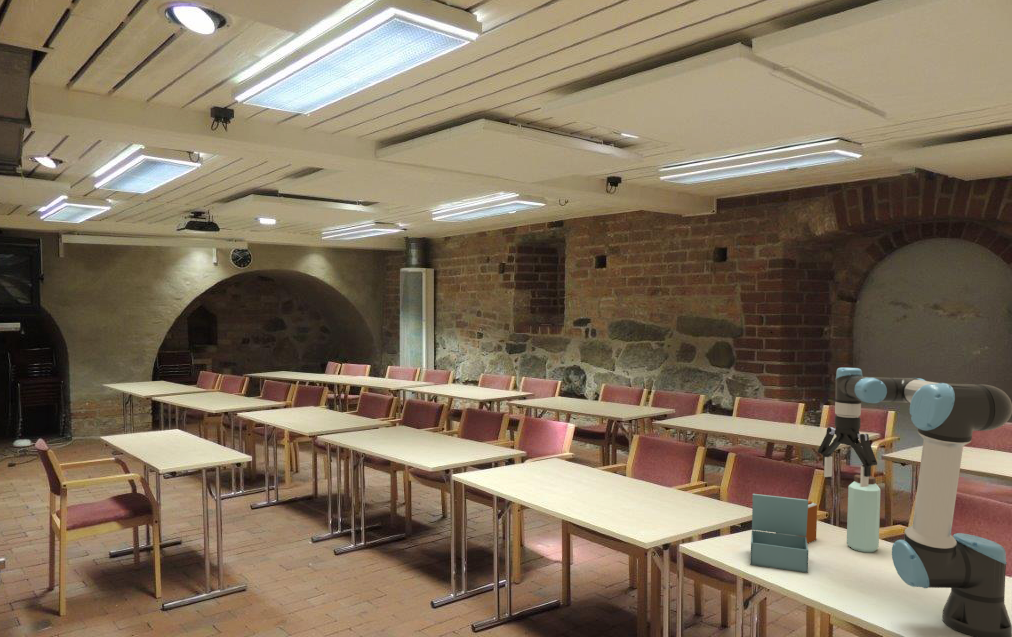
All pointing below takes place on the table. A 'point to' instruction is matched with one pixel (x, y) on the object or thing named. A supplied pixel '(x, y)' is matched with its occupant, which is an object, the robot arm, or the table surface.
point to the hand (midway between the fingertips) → (845, 481)
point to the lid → (779, 514)
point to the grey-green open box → (779, 551)
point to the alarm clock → (810, 522)
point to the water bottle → (863, 515)
